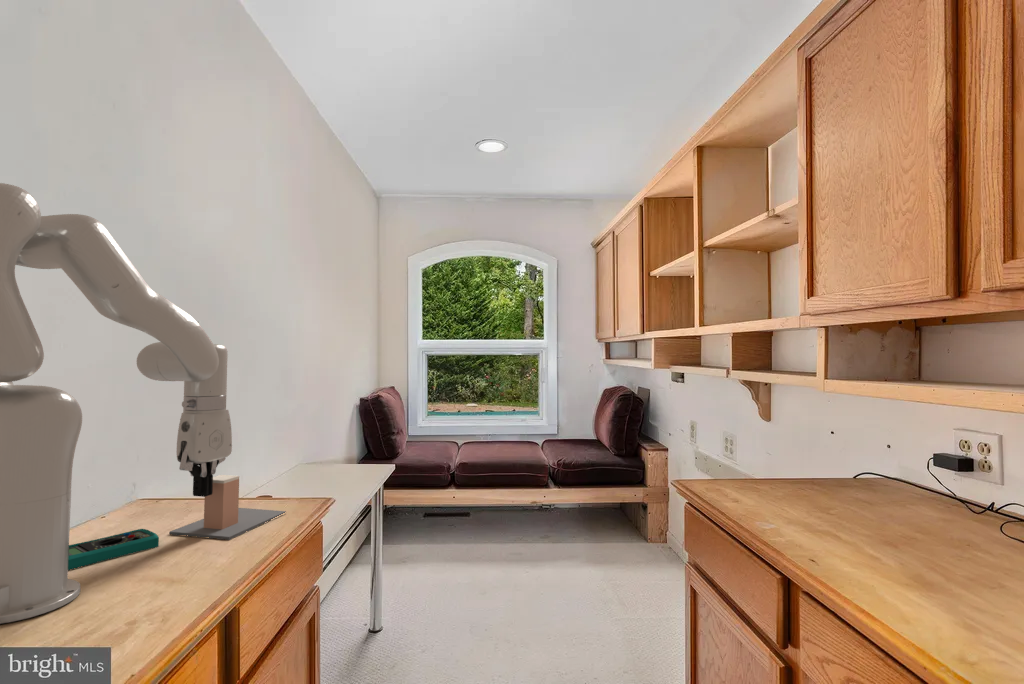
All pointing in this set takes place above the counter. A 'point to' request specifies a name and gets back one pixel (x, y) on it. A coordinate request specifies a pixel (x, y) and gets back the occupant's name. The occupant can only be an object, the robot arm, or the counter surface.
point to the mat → (245, 523)
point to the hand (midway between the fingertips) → (202, 495)
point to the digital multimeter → (111, 547)
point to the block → (222, 503)
